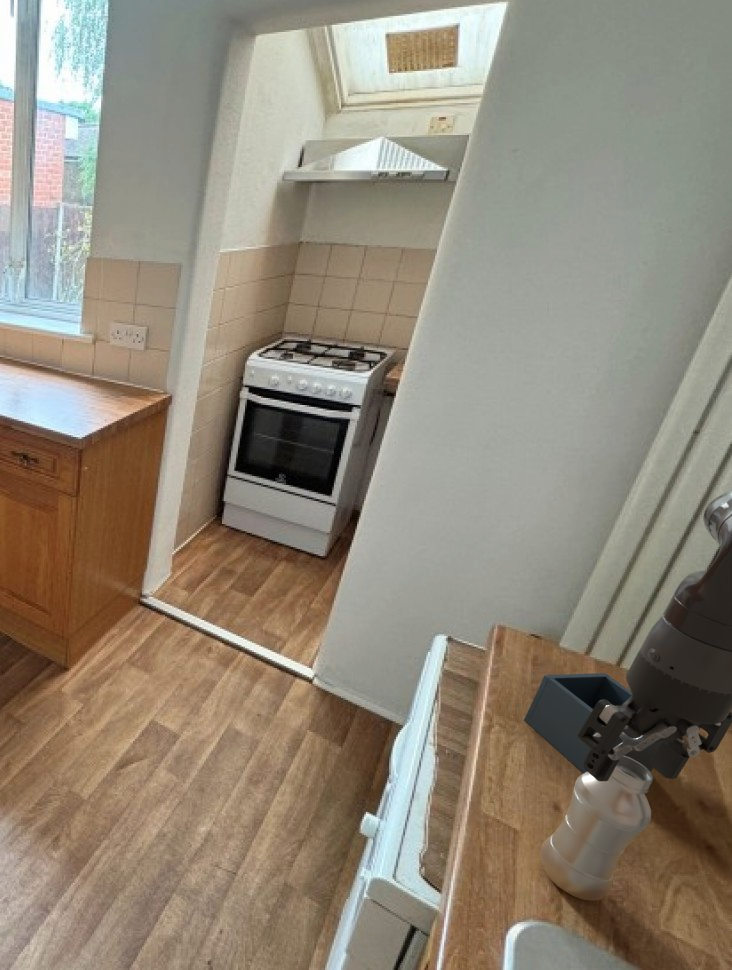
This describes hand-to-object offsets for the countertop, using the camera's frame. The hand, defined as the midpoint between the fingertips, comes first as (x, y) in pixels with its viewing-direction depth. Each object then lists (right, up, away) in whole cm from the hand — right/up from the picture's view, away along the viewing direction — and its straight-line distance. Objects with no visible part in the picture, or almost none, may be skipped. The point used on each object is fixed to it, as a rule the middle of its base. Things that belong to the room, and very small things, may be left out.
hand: (628, 773), depth 70 cm
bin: (+22, -10, +26) cm, 36 cm away
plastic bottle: (0, -18, +7) cm, 19 cm away
